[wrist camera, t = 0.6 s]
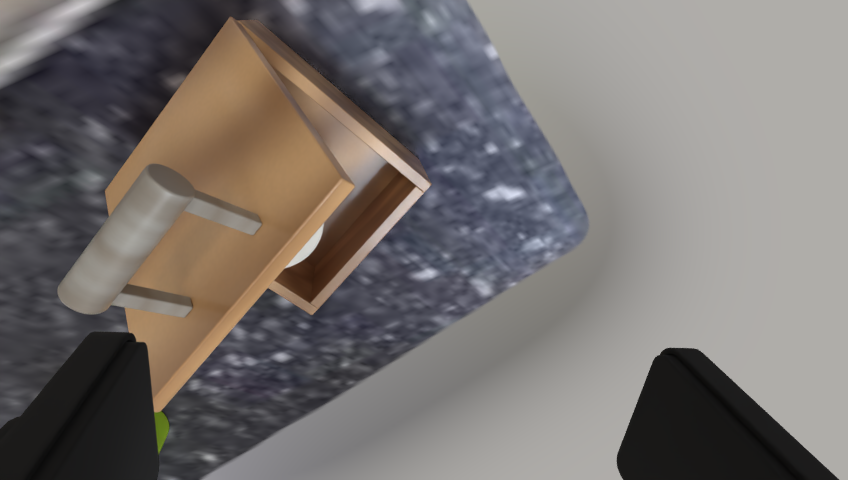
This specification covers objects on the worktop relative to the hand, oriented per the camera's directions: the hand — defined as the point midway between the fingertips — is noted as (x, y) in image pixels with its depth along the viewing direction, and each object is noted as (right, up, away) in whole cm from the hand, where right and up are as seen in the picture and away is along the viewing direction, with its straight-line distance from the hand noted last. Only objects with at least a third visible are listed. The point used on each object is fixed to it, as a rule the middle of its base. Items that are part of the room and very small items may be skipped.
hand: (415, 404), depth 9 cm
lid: (-11, +5, +16) cm, 20 cm away
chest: (-10, +9, +30) cm, 33 cm away
